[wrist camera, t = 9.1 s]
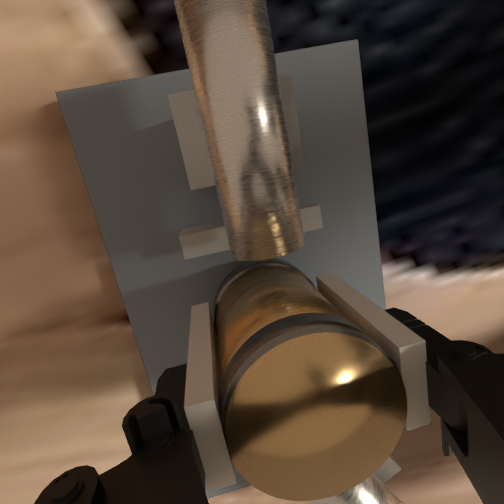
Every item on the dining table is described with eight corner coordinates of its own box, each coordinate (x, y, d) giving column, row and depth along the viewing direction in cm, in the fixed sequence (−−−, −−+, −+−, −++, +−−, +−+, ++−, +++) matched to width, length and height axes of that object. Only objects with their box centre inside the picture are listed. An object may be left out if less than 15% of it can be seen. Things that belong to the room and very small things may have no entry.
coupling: (193, 323, 16) (184, 463, 8) (249, 236, 15) (297, 297, 7) (276, 367, 17) (339, 526, 9) (331, 288, 16) (446, 387, 9)
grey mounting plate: (65, 98, 14) (30, 77, 11) (348, 47, 15) (382, 17, 12) (189, 487, 20) (187, 541, 17) (390, 427, 21) (420, 468, 18)
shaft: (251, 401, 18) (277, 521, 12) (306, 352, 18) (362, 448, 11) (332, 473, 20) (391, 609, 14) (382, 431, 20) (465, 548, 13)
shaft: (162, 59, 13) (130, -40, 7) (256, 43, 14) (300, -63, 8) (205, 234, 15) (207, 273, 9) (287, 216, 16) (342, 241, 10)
